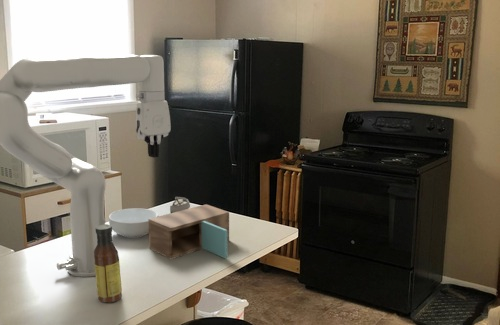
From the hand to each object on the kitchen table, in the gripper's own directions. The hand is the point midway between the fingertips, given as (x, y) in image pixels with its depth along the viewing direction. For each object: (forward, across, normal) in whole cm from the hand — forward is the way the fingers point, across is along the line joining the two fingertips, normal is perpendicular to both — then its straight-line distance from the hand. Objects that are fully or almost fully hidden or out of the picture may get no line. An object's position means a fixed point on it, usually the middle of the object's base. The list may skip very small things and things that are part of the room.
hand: (153, 156), depth 173 cm
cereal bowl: (+31, +4, +19) cm, 37 cm away
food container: (+31, +20, +13) cm, 39 cm away
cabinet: (+31, +12, -2) cm, 33 cm away
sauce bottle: (+31, -28, -19) cm, 46 cm away
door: (+31, +13, -14) cm, 36 cm away
